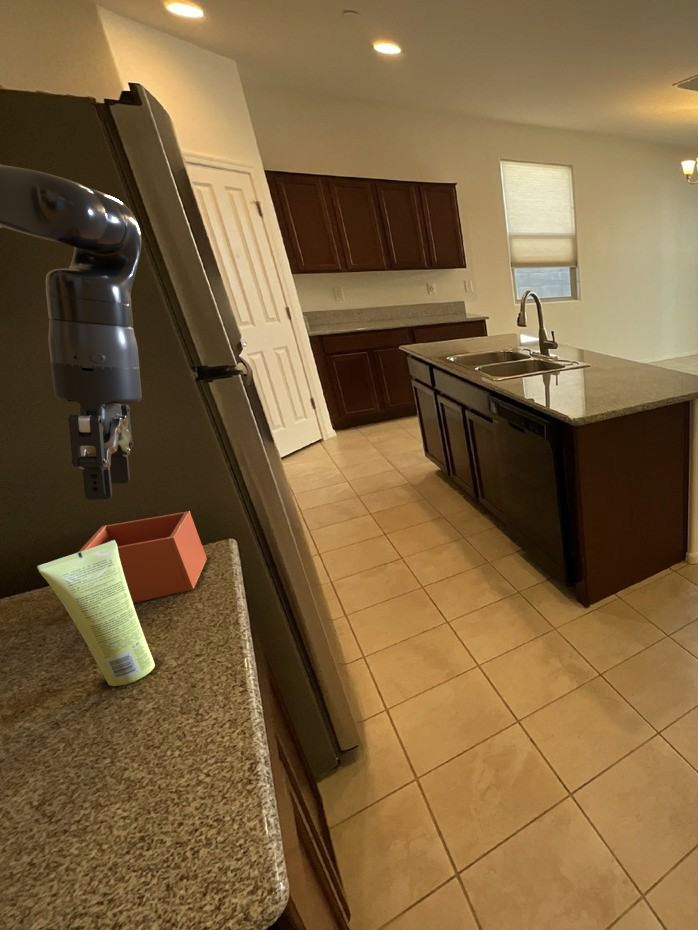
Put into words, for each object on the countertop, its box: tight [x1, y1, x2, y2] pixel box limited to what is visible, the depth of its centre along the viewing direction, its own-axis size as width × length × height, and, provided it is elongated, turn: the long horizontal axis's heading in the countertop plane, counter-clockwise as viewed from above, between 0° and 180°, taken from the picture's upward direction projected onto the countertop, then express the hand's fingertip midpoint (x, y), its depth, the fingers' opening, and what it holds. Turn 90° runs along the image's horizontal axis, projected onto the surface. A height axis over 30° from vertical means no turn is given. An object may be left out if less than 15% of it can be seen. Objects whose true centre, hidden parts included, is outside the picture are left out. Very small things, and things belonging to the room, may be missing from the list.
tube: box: [36, 540, 156, 687], centre depth 69 cm, size 6×5×20 cm
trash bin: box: [78, 510, 208, 604], centre depth 92 cm, size 12×12×11 cm
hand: (109, 490), depth 67 cm, fingers open, 8 cm apart
